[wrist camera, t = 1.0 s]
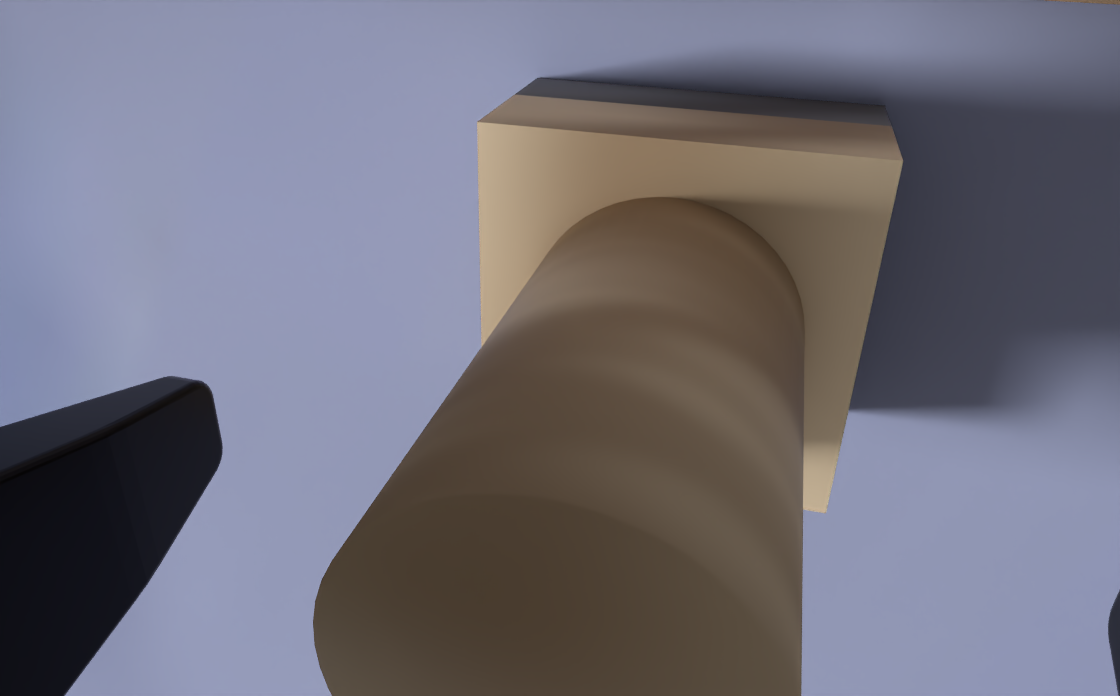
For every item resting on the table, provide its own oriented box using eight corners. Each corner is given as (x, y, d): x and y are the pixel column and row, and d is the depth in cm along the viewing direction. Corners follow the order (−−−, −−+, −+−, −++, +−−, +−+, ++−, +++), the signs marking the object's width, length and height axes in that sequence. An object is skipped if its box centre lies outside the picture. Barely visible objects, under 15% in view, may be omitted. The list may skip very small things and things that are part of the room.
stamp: (884, 105, 12) (1008, 475, 5) (822, 408, 14) (838, 978, 7) (538, 77, 13) (172, 343, 6) (534, 365, 15) (274, 822, 8)
